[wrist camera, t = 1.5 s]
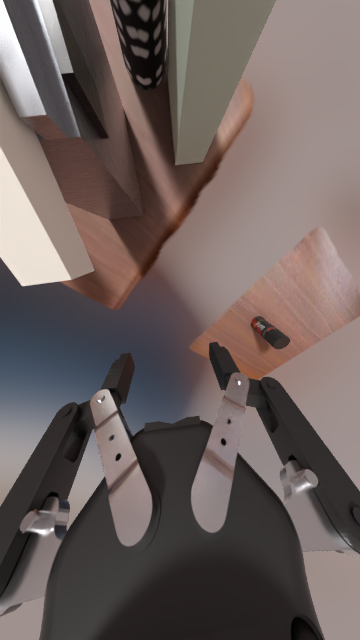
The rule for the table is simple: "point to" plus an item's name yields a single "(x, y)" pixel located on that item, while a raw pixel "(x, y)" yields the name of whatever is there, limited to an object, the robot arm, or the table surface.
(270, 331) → the deodorant
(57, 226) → the cream tall brick
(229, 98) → the pale green tall brick
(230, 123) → the table surface
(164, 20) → the black white cylinder
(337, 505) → the robot arm
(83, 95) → the tower
